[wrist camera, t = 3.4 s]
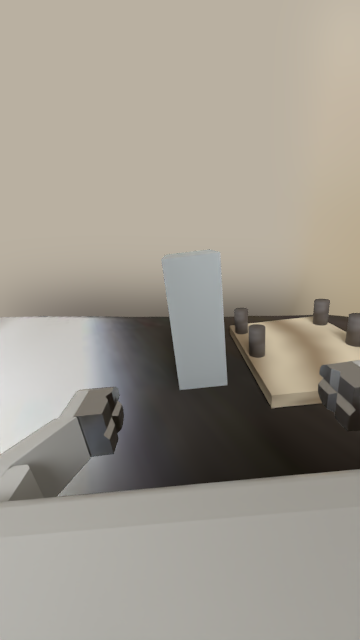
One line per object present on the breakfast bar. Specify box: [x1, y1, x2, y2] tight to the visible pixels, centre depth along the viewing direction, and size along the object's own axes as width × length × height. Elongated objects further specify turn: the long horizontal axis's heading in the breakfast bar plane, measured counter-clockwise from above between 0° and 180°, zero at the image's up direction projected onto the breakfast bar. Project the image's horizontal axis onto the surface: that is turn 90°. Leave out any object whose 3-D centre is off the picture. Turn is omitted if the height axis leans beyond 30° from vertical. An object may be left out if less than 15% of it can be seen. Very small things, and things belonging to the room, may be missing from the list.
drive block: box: [162, 250, 227, 390], centre depth 22 cm, size 4×6×12 cm
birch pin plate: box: [230, 299, 360, 408], centre depth 24 cm, size 12×15×4 cm
